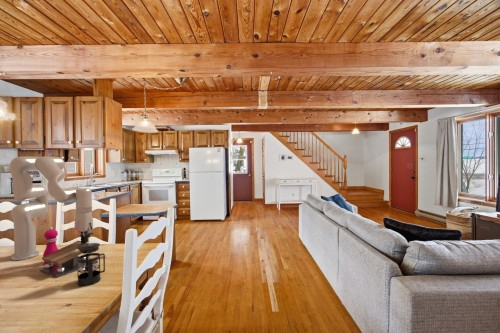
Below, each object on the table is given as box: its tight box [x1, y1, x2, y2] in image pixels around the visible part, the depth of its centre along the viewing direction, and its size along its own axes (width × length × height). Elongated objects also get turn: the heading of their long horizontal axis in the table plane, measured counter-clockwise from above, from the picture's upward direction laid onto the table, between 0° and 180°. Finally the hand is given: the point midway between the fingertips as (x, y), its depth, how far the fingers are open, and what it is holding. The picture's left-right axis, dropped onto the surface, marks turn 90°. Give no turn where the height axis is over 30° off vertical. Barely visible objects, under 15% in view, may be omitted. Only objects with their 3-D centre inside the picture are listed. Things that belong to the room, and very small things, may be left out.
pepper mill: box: [42, 226, 59, 265], centre depth 137 cm, size 7×7×20 cm
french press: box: [76, 231, 106, 287], centre depth 115 cm, size 12×9×23 cm
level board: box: [41, 240, 88, 265], centre depth 130 cm, size 15×18×2 cm
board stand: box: [39, 255, 99, 279], centre depth 131 cm, size 16×20×6 cm
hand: (84, 242), depth 137 cm, fingers closed
